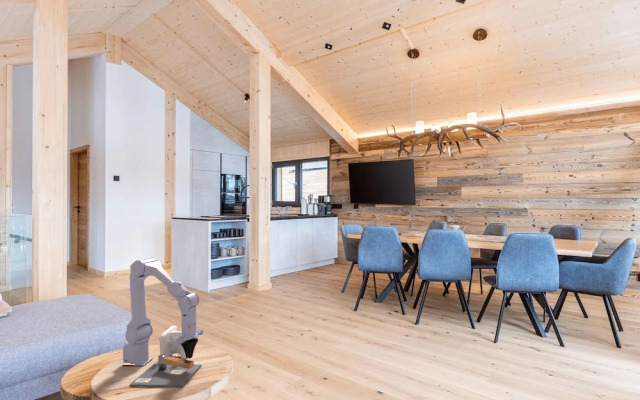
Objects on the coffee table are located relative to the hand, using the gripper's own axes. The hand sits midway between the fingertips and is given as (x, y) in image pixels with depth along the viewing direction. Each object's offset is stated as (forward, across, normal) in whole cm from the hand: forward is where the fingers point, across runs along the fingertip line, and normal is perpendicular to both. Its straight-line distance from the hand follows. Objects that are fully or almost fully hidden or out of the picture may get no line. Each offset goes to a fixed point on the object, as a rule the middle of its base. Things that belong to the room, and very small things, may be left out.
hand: (189, 357), depth 153 cm
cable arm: (+4, -5, +2) cm, 7 cm away
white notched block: (+5, +10, +15) cm, 19 cm away
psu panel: (+5, -8, +4) cm, 10 cm away
